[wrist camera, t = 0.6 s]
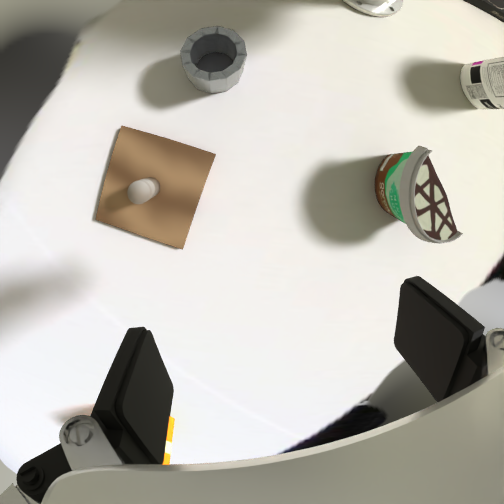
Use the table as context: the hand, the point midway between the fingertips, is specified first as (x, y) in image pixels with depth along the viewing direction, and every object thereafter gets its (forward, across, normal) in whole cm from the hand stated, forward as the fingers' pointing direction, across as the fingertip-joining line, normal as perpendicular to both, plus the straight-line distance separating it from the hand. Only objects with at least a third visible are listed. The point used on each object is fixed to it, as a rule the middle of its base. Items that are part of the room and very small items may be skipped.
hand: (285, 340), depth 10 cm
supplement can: (+26, -41, -17) cm, 52 cm away
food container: (+26, -20, +1) cm, 33 cm away
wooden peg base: (+26, +10, -4) cm, 28 cm away
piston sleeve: (+26, +1, -18) cm, 32 cm away
